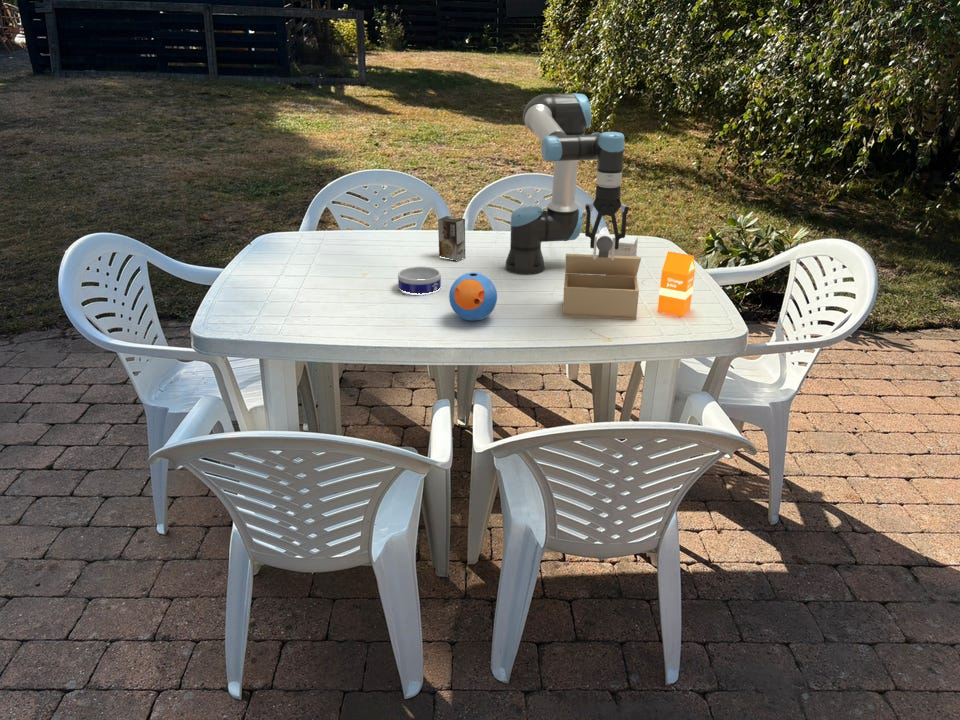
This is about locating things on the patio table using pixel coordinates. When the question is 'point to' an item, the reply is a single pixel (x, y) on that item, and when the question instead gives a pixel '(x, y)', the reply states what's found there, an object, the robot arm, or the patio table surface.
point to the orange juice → (676, 284)
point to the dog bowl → (412, 285)
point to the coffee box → (451, 237)
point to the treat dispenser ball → (473, 296)
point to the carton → (600, 296)
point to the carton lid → (602, 262)
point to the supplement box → (625, 247)
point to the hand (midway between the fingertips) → (603, 258)
